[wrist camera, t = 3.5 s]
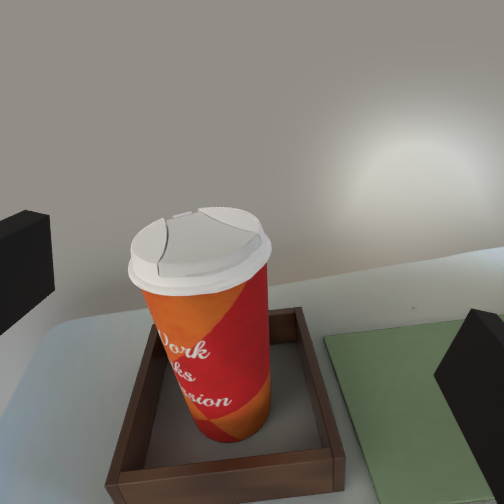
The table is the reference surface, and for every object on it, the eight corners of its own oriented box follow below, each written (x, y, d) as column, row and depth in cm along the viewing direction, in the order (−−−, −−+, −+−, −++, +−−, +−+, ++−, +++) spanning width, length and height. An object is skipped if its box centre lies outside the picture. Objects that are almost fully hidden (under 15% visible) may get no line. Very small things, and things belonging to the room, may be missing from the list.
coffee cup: (167, 389, 28) (113, 225, 21) (256, 351, 31) (235, 194, 24) (198, 486, 22) (132, 293, 14) (308, 425, 24) (300, 238, 17)
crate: (302, 335, 32) (301, 306, 30) (344, 491, 20) (346, 457, 19) (161, 352, 32) (152, 324, 30) (122, 518, 20) (103, 486, 19)
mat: (538, 312, 32) (539, 310, 31) (734, 470, 19) (737, 467, 19) (323, 338, 32) (323, 336, 31) (382, 512, 19) (383, 510, 19)
